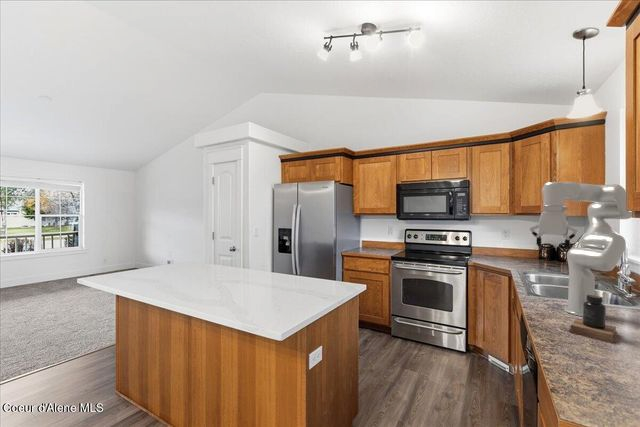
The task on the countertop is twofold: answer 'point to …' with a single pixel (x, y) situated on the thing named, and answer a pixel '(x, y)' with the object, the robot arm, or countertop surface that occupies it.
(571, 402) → the countertop surface
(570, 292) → the robot arm
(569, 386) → the countertop surface
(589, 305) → the supplement bottle
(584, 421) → the countertop surface
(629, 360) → the countertop surface
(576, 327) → the walnut pedestal
